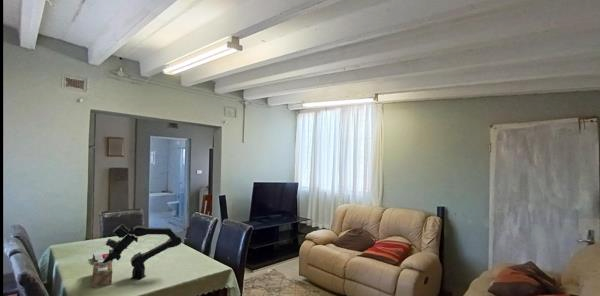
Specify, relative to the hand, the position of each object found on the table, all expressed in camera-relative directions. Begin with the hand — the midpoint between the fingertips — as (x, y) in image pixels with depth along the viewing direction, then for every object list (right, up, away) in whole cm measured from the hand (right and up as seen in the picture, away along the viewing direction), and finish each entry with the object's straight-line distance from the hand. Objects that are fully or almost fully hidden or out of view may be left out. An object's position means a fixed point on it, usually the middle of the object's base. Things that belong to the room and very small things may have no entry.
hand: (103, 262), depth 199 cm
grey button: (-6, -5, +9) cm, 12 cm away
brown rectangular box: (-4, -12, +4) cm, 13 cm away
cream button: (0, -7, 0) cm, 7 cm away
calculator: (-24, -12, +38) cm, 47 cm away
